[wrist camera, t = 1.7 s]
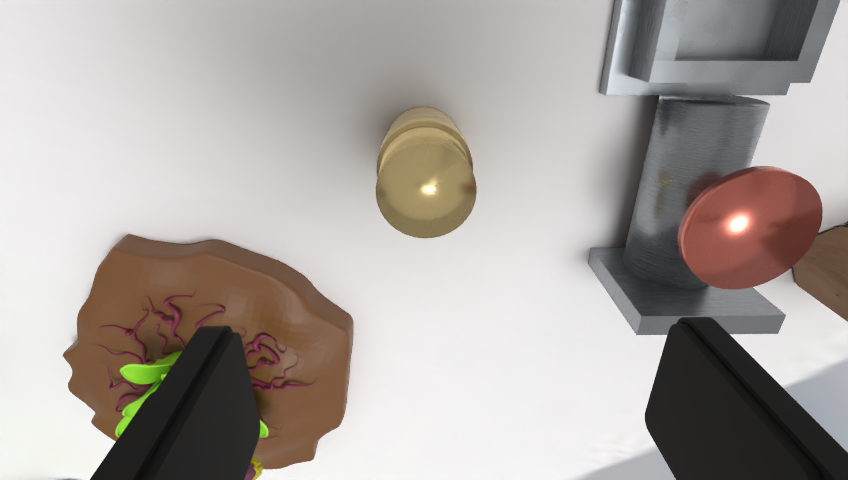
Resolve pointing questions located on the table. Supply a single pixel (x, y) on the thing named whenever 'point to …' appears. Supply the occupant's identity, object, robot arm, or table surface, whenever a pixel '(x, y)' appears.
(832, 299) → the wooden block
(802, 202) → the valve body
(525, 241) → the table surface
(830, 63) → the table surface
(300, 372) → the plant
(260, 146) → the table surface
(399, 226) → the cylinder
